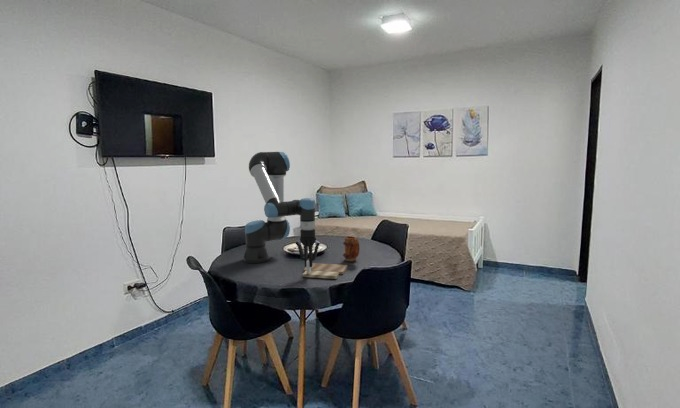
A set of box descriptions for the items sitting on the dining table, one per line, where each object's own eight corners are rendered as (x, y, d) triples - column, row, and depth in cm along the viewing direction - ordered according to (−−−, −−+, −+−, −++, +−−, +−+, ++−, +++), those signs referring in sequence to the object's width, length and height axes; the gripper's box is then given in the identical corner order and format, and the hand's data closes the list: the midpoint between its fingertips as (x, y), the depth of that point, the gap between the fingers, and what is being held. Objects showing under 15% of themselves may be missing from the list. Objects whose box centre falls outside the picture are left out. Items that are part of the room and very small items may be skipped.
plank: (302, 276, 194) (302, 274, 194) (306, 272, 201) (306, 270, 201) (336, 278, 190) (336, 276, 190) (339, 274, 198) (339, 272, 198)
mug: (341, 259, 225) (340, 235, 223) (353, 257, 228) (353, 233, 226) (351, 266, 212) (351, 240, 209) (364, 264, 215) (364, 238, 213)
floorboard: (303, 272, 202) (303, 269, 202) (309, 265, 214) (309, 262, 214) (343, 274, 198) (343, 272, 197) (347, 267, 209) (347, 264, 209)
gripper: (293, 229, 189) (294, 274, 192) (318, 230, 186) (318, 276, 189) (297, 226, 196) (299, 269, 199) (321, 227, 193) (322, 271, 197)
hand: (308, 272), depth 194 cm, fingers closed
